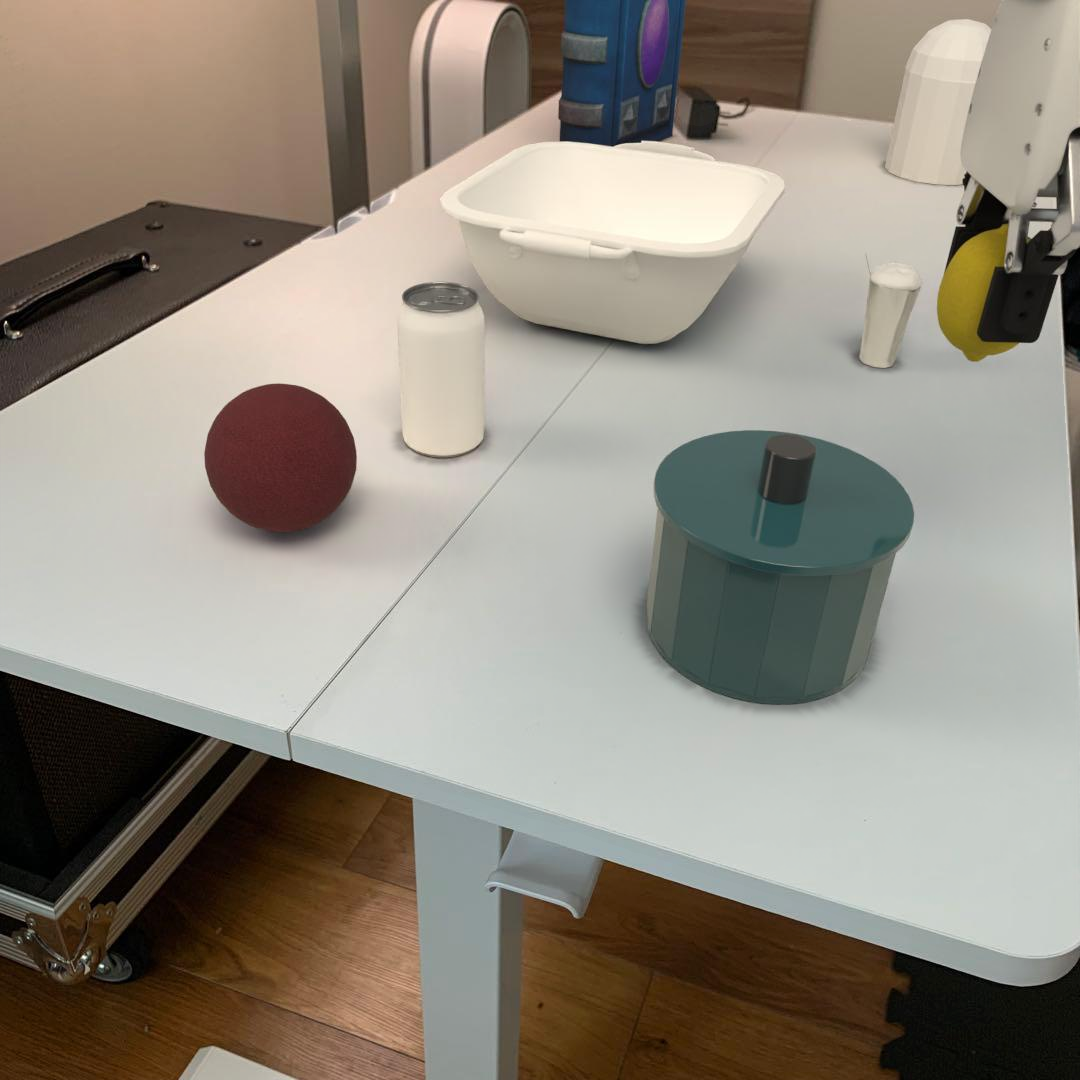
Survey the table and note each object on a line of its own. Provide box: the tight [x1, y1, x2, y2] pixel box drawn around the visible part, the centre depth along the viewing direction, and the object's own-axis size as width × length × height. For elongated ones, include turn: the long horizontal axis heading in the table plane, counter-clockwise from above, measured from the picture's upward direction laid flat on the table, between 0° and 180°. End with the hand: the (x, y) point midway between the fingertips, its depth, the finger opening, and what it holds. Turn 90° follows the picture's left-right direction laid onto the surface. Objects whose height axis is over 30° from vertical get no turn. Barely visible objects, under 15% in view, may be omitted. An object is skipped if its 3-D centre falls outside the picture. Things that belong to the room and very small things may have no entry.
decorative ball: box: [203, 383, 358, 533], centre depth 72 cm, size 10×10×10 cm
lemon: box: [936, 224, 1032, 363], centre depth 60 cm, size 6×6×8 cm
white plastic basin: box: [438, 141, 786, 345], centre depth 104 cm, size 34×28×13 cm
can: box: [396, 281, 485, 459], centre depth 82 cm, size 6×6×12 cm
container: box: [884, 18, 992, 186], centre depth 148 cm, size 13×13×20 cm
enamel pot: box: [646, 508, 897, 705], centre depth 64 cm, size 14×14×10 cm
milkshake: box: [858, 253, 923, 369], centre depth 97 cm, size 4×5×10 cm
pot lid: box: [652, 429, 915, 576], centre depth 60 cm, size 15×15×4 cm
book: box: [557, 0, 686, 147], centre depth 150 cm, size 24×9×30 cm, turn 147°
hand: (986, 313), depth 60 cm, fingers closed on lemon, 5 cm apart
